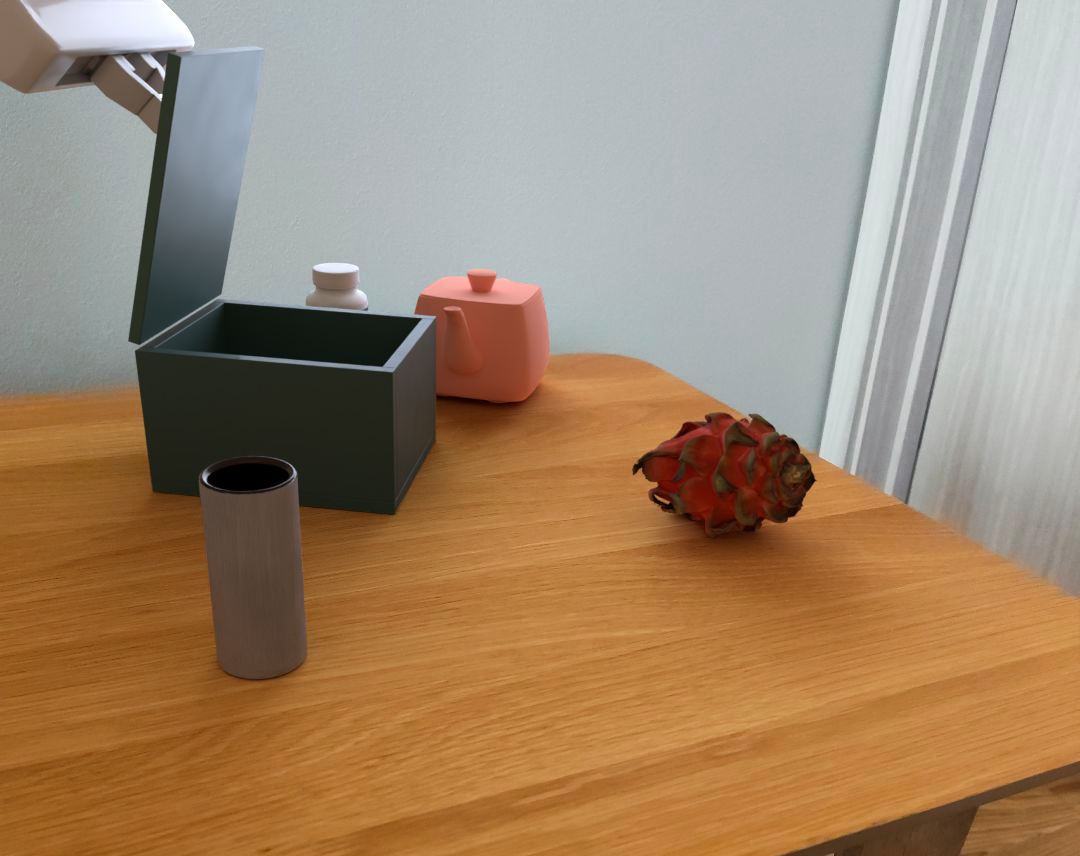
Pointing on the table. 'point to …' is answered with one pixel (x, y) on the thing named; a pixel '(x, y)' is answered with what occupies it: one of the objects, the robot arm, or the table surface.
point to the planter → (254, 565)
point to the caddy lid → (194, 183)
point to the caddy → (293, 398)
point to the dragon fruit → (729, 473)
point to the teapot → (487, 336)
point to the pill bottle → (337, 287)
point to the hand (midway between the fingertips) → (177, 126)
